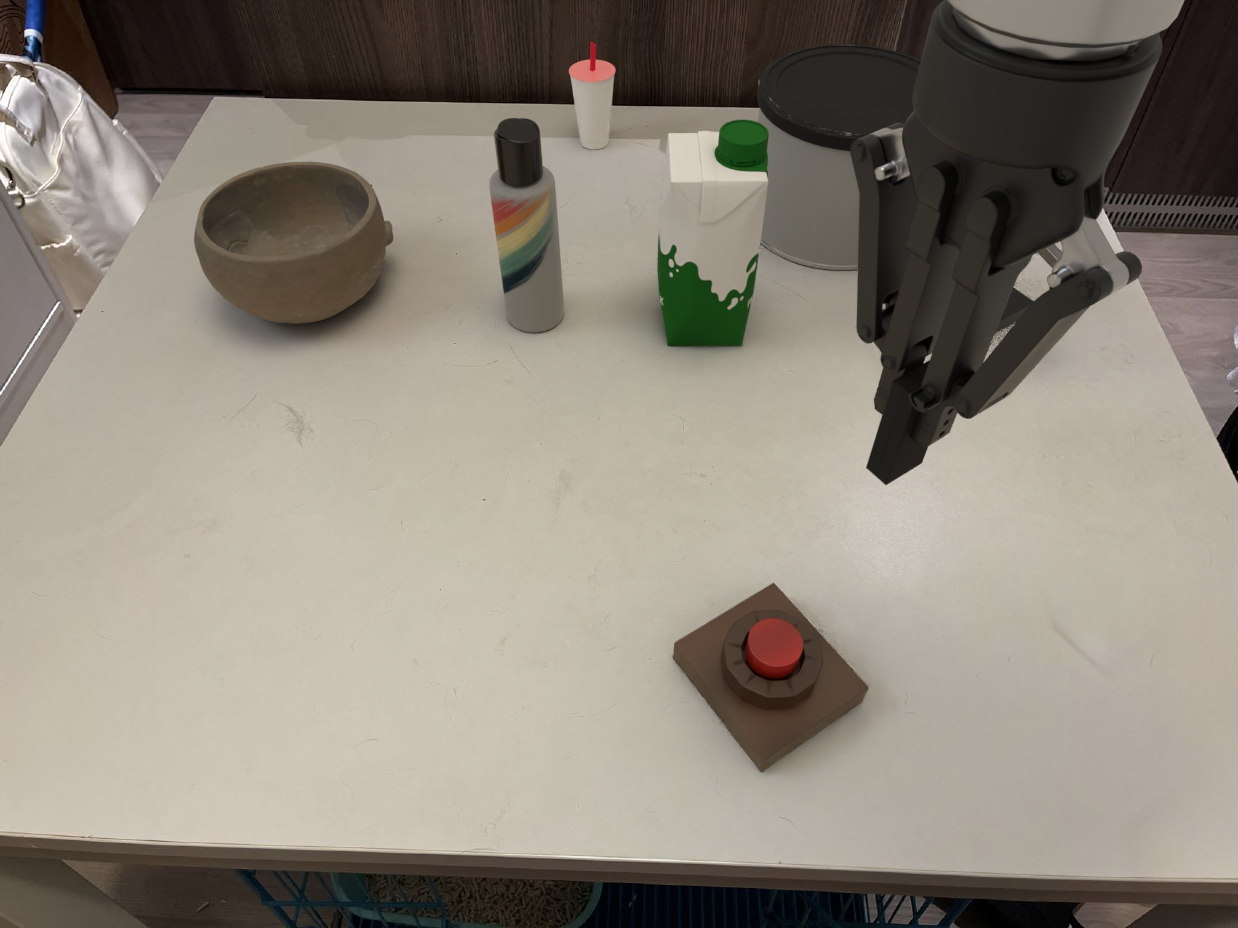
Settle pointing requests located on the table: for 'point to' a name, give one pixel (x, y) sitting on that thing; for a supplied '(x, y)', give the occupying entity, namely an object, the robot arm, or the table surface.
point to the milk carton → (711, 232)
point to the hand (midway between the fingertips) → (894, 465)
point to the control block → (768, 679)
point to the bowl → (293, 240)
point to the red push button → (774, 648)
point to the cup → (593, 99)
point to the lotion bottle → (526, 228)
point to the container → (825, 143)
